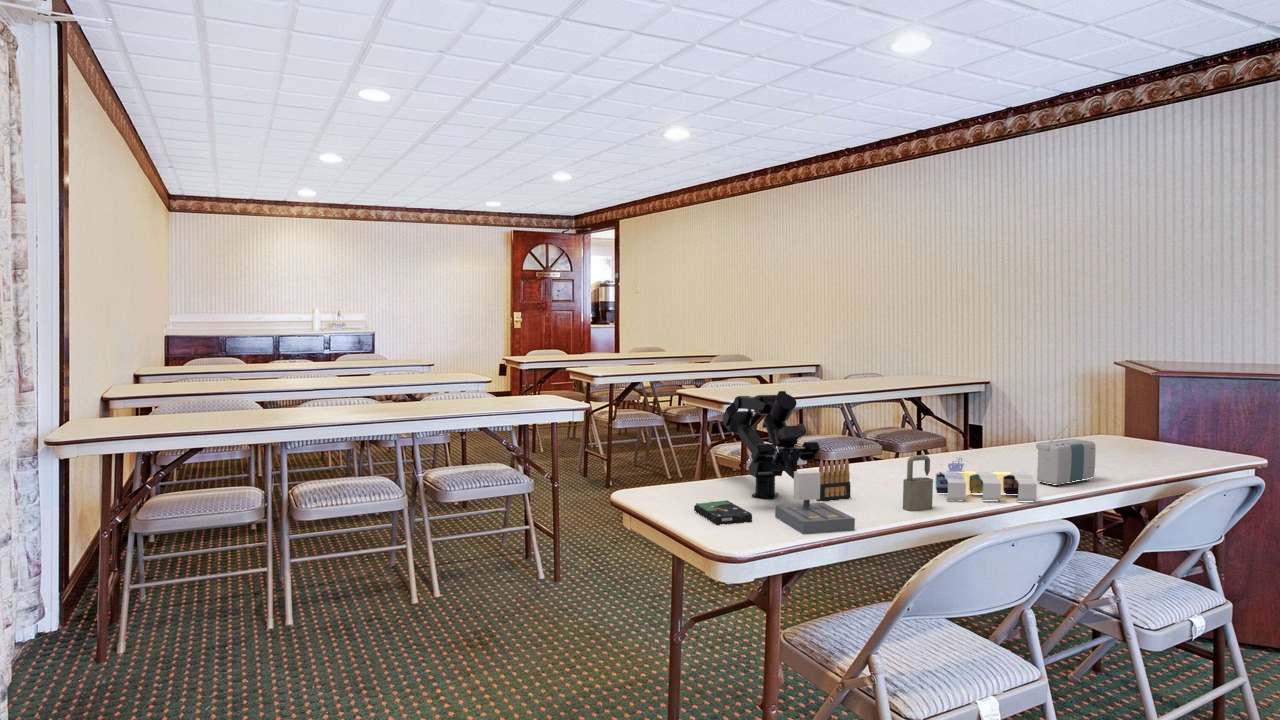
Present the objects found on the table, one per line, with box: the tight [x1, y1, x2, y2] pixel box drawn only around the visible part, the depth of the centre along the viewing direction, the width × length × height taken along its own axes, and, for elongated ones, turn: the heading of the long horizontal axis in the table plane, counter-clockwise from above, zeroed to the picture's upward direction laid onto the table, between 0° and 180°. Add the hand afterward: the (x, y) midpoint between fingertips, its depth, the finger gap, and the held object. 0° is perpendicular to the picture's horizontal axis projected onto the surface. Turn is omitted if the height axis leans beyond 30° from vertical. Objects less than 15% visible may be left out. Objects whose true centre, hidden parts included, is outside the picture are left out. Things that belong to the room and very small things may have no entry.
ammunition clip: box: [816, 457, 852, 502], centre depth 216 cm, size 11×2×12 cm, turn 111°
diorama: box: [934, 457, 1038, 502], centre depth 218 cm, size 25×10×13 cm, turn 87°
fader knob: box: [793, 469, 820, 507], centre depth 194 cm, size 3×6×9 cm, turn 105°
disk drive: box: [693, 500, 753, 526], centre depth 197 cm, size 10×3×15 cm
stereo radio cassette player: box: [1035, 418, 1096, 484], centre depth 241 cm, size 21×8×20 cm, turn 119°
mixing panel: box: [774, 502, 856, 535], centre depth 190 cm, size 16×14×3 cm
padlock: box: [902, 454, 934, 512], centre depth 206 cm, size 4×8×15 cm, turn 111°
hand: (795, 477), depth 200 cm, fingers closed
